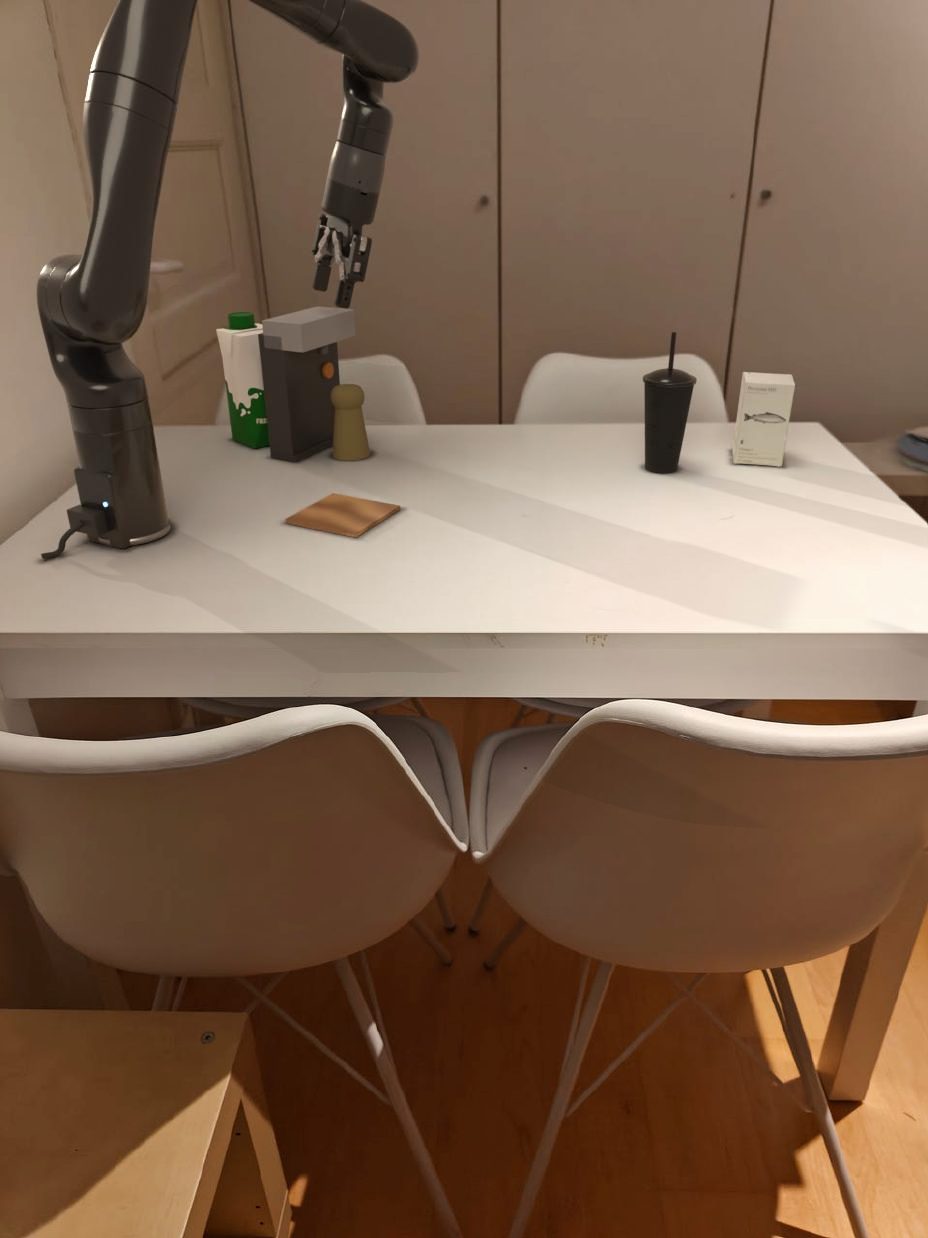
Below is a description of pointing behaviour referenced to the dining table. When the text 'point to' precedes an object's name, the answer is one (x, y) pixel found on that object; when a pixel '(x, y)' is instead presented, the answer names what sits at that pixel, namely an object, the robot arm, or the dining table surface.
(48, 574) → the dining table surface
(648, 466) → the drinking cup
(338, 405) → the pepper shaker
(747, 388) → the white packaging box
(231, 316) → the milk carton
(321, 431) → the coffee machine
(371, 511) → the coaster
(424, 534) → the dining table surface
